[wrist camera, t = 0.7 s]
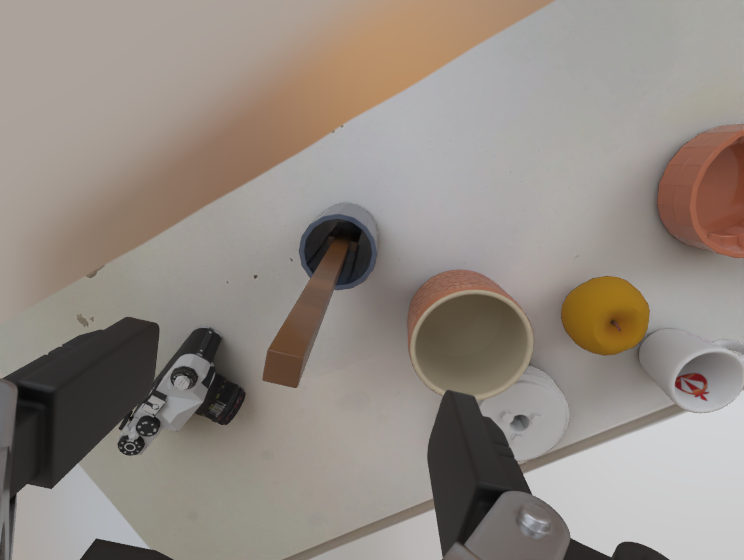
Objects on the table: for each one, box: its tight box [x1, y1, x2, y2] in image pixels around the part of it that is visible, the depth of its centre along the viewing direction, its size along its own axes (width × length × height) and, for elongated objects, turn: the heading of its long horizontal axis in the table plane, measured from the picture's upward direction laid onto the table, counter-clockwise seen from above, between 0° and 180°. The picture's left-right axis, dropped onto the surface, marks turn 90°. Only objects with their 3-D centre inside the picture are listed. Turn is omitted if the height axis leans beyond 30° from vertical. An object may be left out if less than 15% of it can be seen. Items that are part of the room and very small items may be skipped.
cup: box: [639, 328, 744, 413], centre depth 48 cm, size 11×8×8 cm
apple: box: [561, 276, 650, 355], centre depth 47 cm, size 9×8×9 cm
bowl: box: [657, 124, 744, 258], centre depth 44 cm, size 13×13×6 cm
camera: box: [118, 326, 246, 455], centre depth 51 cm, size 15×11×10 cm
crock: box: [299, 203, 378, 290], centre depth 45 cm, size 7×7×10 cm
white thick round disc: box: [477, 366, 569, 461], centre depth 53 cm, size 13×13×5 cm
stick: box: [262, 227, 360, 388], centre depth 33 cm, size 2×3×32 cm, turn 77°
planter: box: [407, 270, 534, 401], centre depth 46 cm, size 12×12×11 cm
